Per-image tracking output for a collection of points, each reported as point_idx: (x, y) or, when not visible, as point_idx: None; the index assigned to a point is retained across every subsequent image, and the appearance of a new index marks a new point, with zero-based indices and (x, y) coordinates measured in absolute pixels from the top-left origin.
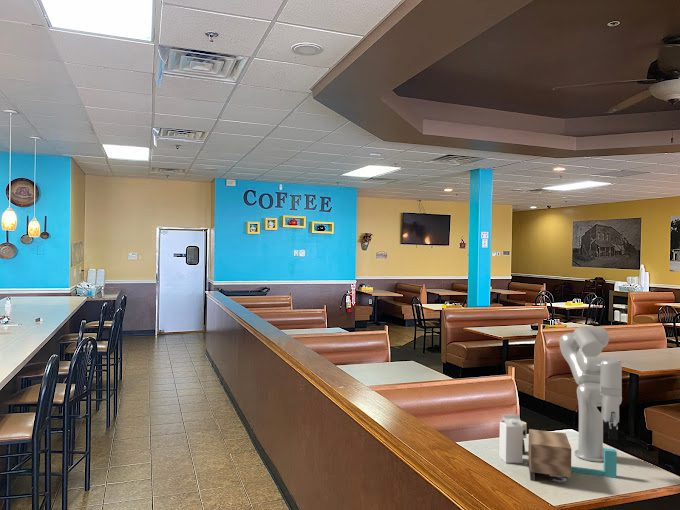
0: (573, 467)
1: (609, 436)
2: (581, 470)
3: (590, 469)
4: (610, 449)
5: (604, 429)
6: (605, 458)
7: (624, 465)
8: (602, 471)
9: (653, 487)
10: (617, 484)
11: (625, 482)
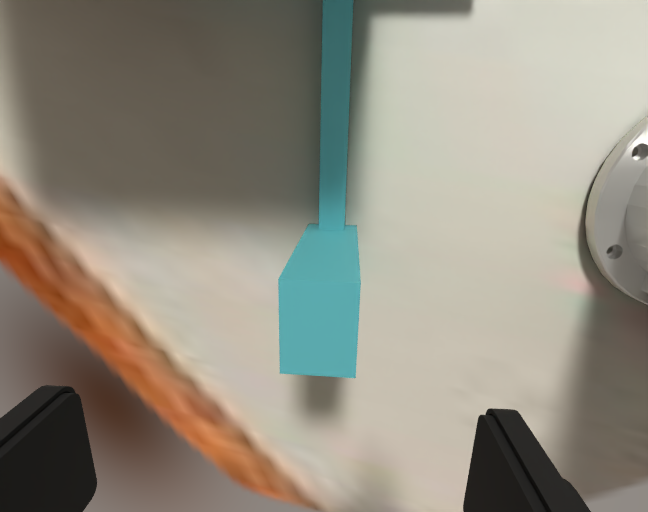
0: (331, 11)
1: (13, 418)
2: (321, 76)
3: (332, 141)
4: (338, 337)
5: (517, 447)
6: (292, 258)
7: (553, 377)
8: (321, 217)
9: (243, 421)
10: (205, 266)
11: (256, 314)
